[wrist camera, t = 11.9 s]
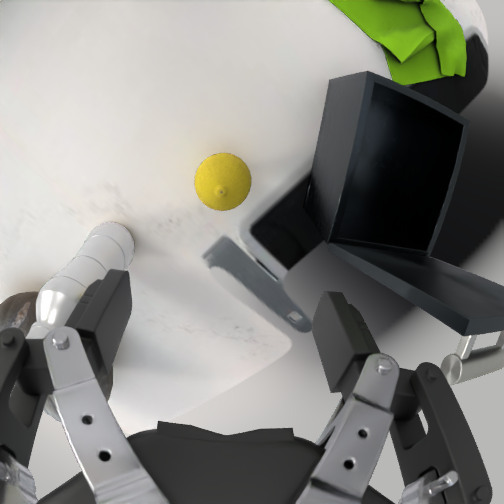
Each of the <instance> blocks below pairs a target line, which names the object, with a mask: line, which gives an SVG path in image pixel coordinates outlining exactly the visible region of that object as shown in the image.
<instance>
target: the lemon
mask: <svg viewBox="0 0 504 504" xmlns="http://www.w3.org/2000/svg"><path fill="white" fill-rule="evenodd" d="M250 187H251V175H250V171H249V169H248V167H247V165H246V164H245V163H244V162H243V161H242V160H241V159H240V158H239V157H237V156H235V155H232V154H229V153H219V154H214V155H212V156H210V157H208V158H207V159H205V160H204V161H203V162H202V163H201V165H200V166H199V168H198V169H197V172H196V175H195V189H196V193H197V195H198V197H199V199H200V200H201V201H202V202H203V203H204V204H205V205H206V206H208V207H209V208H212V209H214V210H219V211H225V210H230V209H233V208H235V207H237V206H238V205H240V204H241V203H242V202H243V201H244V200H245V199H246V197H247V195H248V193H249V191H250Z"/></svg>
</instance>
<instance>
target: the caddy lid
mask: <svg viewBox="0 0 504 504" xmlns="http://www.w3.org/2000/svg"><path fill="white" fill-rule="evenodd" d="M328 252H330V253H332V254H333V255H335V256H337V257H339V258H340V259H342V260H344V261H345V262H347V263H349V264H350V265H352V266H354V267H355V268H357V269H359V270H360V271H362V272H364V273H365V274H367V275H369V276H370V277H372V278H373V279H375V280H377V281H378V282H380V283H382V284H383V285H385V286H386V287H388V288H390V289H391V290H393V291H394V292H396V293H398V294H399V295H401V296H402V297H404V298H406V299H407V300H409V301H410V302H412V303H413V304H415V305H416V306H418V307H420V308H421V309H423V310H424V311H426V312H427V313H429V314H430V315H432V316H433V317H435V318H437V319H438V320H440V321H441V322H443V323H444V324H446V325H447V326H449V327H450V328H452V329H453V330H455V331H456V332H458V333H459V334H461V335H462V337H461V340H460V342H459V345H458V347H457V350H456V352H455V354H450V355H448V356H446V357H445V358H444V360H443V362H442V364H441V368H440V369H441V371H442V372H443V374H444V376H445V377H446V379H447V381H448V383H449V385H454V384H457V383H461V382H464V381H467V380H471V379H474V378H477V377H480V376H483V375H485V374H488V373H491V372H494V371H497V370H499V369H502V368H503V367H504V286H502V285H499V284H497V283H495V282H492V281H490V280H488V279H485V278H483V277H480V276H478V275H476V274H473V273H470V272H468V271H465V270H463V269H460V268H458V267H455V266H453V265H450V264H448V263H445V262H442V261H440V260H437V259H435V258H431V257H426V256H419V255H413V254H406V253H400V252H393V251H386V250H379V249H372V248H365V247H358V246H351V245H344V244H337V243H329V248H328ZM497 331H501V333H500V336H499V338H498V341H497V343H496V345H494V346H490V347H485V348H480V349H476V350H472V347H473V344H474V342H475V340H476V337H477V335H479V334H486V333H492V332H497Z"/></svg>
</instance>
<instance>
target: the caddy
mask: <svg viewBox="0 0 504 504" xmlns="http://www.w3.org/2000/svg"><path fill="white" fill-rule="evenodd" d="M469 124H470V121H468V120H467V119H465V118H464V117H462V116H460V115H459V114H457V113H455V112H454V111H452V110H450V109H448V108H447V107H445V106H443V105H441V104H439V103H438V102H436V101H434V100H432V99H430V98H428V97H426V96H424V95H422V94H420V93H418V92H416V91H414V90H412V89H410V88H408V87H406V86H403V85H401V84H399V83H397V82H394V81H392V80H390V79H387V78H385V77H382V76H380V75H377V74H375V73H372V72H369V71H365V72H360V73H356V74H351V75H347V76H343V77H339V78H335V79H331V80H329V86H328V91H327V96H326V102H325V107H324V112H323V117H322V122H321V127H320V132H319V137H318V142H317V147H316V151H315V156H314V161H313V165H312V170H311V174H310V179H309V183H308V188H307V192H306V196H305V201H304V205H303V208H304V209H305V211H306V212H307V214H308V215H309V217H310V218H311V220H312V221H313V223H314V225H315V226H316V228H317V229H318V231H319V232H320V234H321V235H322V237H323V238H324V240H325V242H326V243H327V244H329V243H337V244H344V245H351V246H358V247H365V248H372V249H379V250H386V251H393V252H400V253H406V254H413V255H419V256H426V257H429V256H430V254H431V251H432V249H433V246H434V244H435V241H436V239H437V236H438V234H439V231H440V228H441V226H442V223H443V220H444V217H445V215H446V212H447V209H448V205H449V202H450V199H451V196H452V193H453V190H454V186H455V183H456V179H457V176H458V172H459V168H460V165H461V161H462V157H463V153H464V148H465V144H466V139H467V134H468V129H469Z"/></svg>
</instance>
